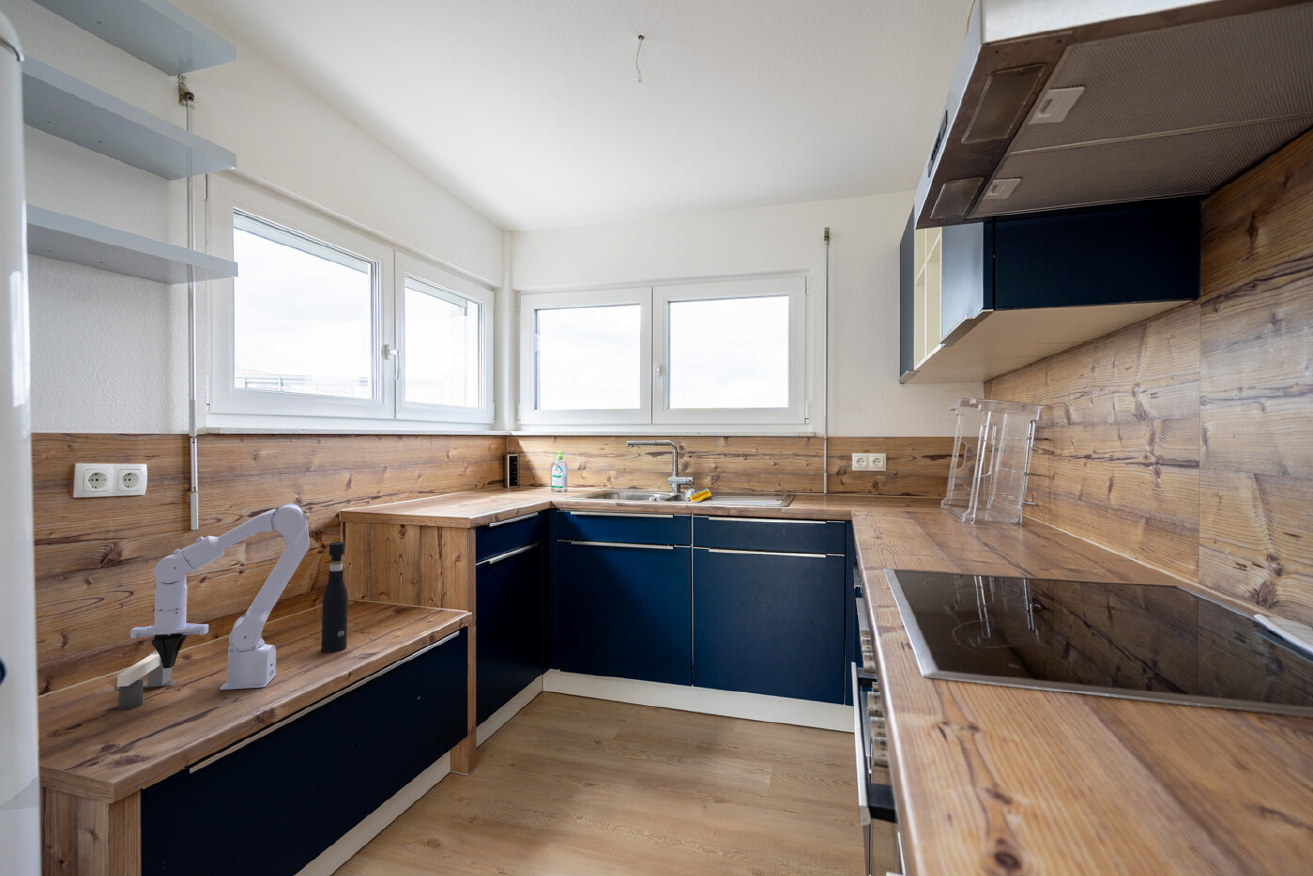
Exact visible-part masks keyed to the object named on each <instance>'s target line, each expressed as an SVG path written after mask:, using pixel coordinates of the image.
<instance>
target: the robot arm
mask: <svg viewBox="0 0 1313 876" xmlns="http://www.w3.org/2000/svg"><path fill="white" fill-rule="evenodd" d="M275 529H276V530H277V531H278V532H279V533H280V534H281V535H282V536H283V539H284V542H285V544H286V548H285V549H284V550H283V552H282V554H281V555H280V557H279V559H278V560H277V562H276V563H275V565H274V567H273V569H272V571H271V573H269V575H268V577H267V579H265V580H266V581H264V583H263V585H262V587H261V588H260V590H259V592H258V593H257V595H256V597H255V598H254V600H253V601H252V603H251V604H250V606H249V607H248V608H247V610H246V612H245V613H244V614H242V615H241V616H240V617H238V618H237V619H236V620H235V622H234V624H233V626H232V630H231V632H230V634H229V637H228V642H229V645H228V646H227V647H228V649H227V650H228V651H227V652H228V653H227V681H226V682H225V683H224V684H222V686H221V687H220V688H219V690H220V691H226V690H239V689H241V690H242V689H243V690H244V689H257V688H265V687H266V686H267V685H268V684H269V683H270V682H271V681H272V680H273V679H274V678H275V677H276V676H277V673H276V670H277V669H276V667H277V665H276V664H277V663H276V662H277V648H276V645H274V644H266V643H265V640H264V639H263V637H262V631H263V630H264V626H265V624H266V622H267V620H268V618H269V615H270V614H271V612H272V610H273V609H274V607H275V606H276V603H277V602H278V601H279V599H280V597H281V595H282V593H283V592H284V590H285V589H286V587H287V586H288V584H289V582H290V581H291V578H292V577H293V575H294V574H295V572H296V570H297V569H298V567H299V565H300V563H301V562H302V560H303V559H304V557H305V555H306V554H307V552H308V550H309V548H310V545H311V544H310V543H311V542H310V535H309V534H310V533H309V526H308V518H307V516H306V514H305V512H304V510H303V509H302V507H301V506H300V505H297V504H295V503H285V504H282V505H281V506H279V507H278V508H272V509H270V510H267V511H265V512H263V513H260V514H258V515H256V516H255V517H253V518H251V519H249V520H247V521H245V522H243V523H241V524H239V525H237V526H236V527H234V528H232V529H231V530H228V531H227V532H224V533H223V534H221V535H220V536H212V535H207V536H205V537H203V536H199V537H197V538H196V539H195V542H193V543H191V544H189V545H188V546H186V547H184V548H182V549H180V548H177V549H175V550H174V551H173V554H169V555H167V556H165V557H164V558H162V559H161V560H160V561H159V562H157V564H156V565H155V567H154V569H153V575H154V578H155V579H156V582H155V585H156V588H155V593H154V594H155V596H154V625H149V626H148V625H145V626H136V627H133V628H132V629H130V639H137V638H141V637H142V638H145V637H147V638H149V637H153V639H152V640H151V645H152V646H153V647H154V649H155V650H157V652H158V653H159V656H160V658H161V661H162V664H163V668H171V667H172V668H173V667H174V666H175V665H176V661H177V658H178V656H179V652H180V650H181V648H182V646H183V644H184V642H185V640H186V639H187V638H188V636H189V635H199V636H205V635H206V634H207V633H209V624H208V623H206V624H205V623H204V624H203V623H187V608H188V607H187V606H188V605H187V603H188V599H187V597H188V586H187V575H186V574H188V573H189V572H196V570H199V569H201V568H202V567H204V566H206V565H208V564H210V563H211V562H214V561H215V560H217V559H219V558H221V557H223V555H224V553H225V551H226V548H228V547H231V546H233V545H235V544H238V543H239V542H241V541H242V540H245V539H247V538H250V537H251V536H254V535H255V534H258V533H259V532H260V533H261V532H268V533H269V532H271V533H272V532H274V530H275Z"/></svg>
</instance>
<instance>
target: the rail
mask: <svg viewBox="0 0 1313 876" xmlns="http://www.w3.org/2000/svg"><path fill="white" fill-rule="evenodd" d="M176 683H178V680H176V679H175V680H174V679H172V680H170V681H168V682H167V683H165V684H164V685H163V686H150V687H147V686H148V681H145V682H144V681H143V689H146V688H147V689H148V688H161V687H162V688H163V687H172V686H174V685H175V684H176ZM116 690H118V691H119V687H116Z"/></svg>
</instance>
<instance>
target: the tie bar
mask: <svg viewBox="0 0 1313 876" xmlns="http://www.w3.org/2000/svg"><path fill="white" fill-rule="evenodd" d="M172 674H173V667H171V668H163V664H162V661H161V658H160V656H159V653H158V652H157V650H156V649H155V650H154V651H152V652H151V653H149V654H148V656H146V657H145V658H143V659H142V660H140V661H138V662H137V663H135V664H133V665H132V666H130V667H129V668H127V669H125V670H124V671H122V672H120V673H119V674H117V687H120V686H129V685H131V684H132V683H134V682H135V681H137V680H141V678H143V677H144V676H146V675H147V682H148V686H147V687H149V688H151V687H150V686H163V685H164V684H165V683H167V682H168V681H172V680H173V679H172V676H173V675H172ZM117 687H116V688H117Z"/></svg>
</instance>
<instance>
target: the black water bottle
mask: <svg viewBox="0 0 1313 876" xmlns="http://www.w3.org/2000/svg"><path fill="white" fill-rule="evenodd" d="M344 555H345V542H341V541H335V542H330V543H329V545H328V556H331V561H330V562H331V563H330V565H329V570H328V578H327V579H328V580H327V583H326V585H325V589H324V592H323V596H322V605H321V607H322V608H321V609H322V611H321V639H320V640H321V645H320V648H321V649H320V650H321V652H322V653H337V652H342V651H343V650H346V649H347V647H348V645H347V643H348V617H349V616H348V615H349V613H348V612H349V611H348V608H349V605H348V604H349V596H348V590H347V589H348V588H347V586H346V583H345V581H344V571H345V570H344V569H343V568H344V567H343V563H342V562H343V560H342V557H343V556H344Z"/></svg>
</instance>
